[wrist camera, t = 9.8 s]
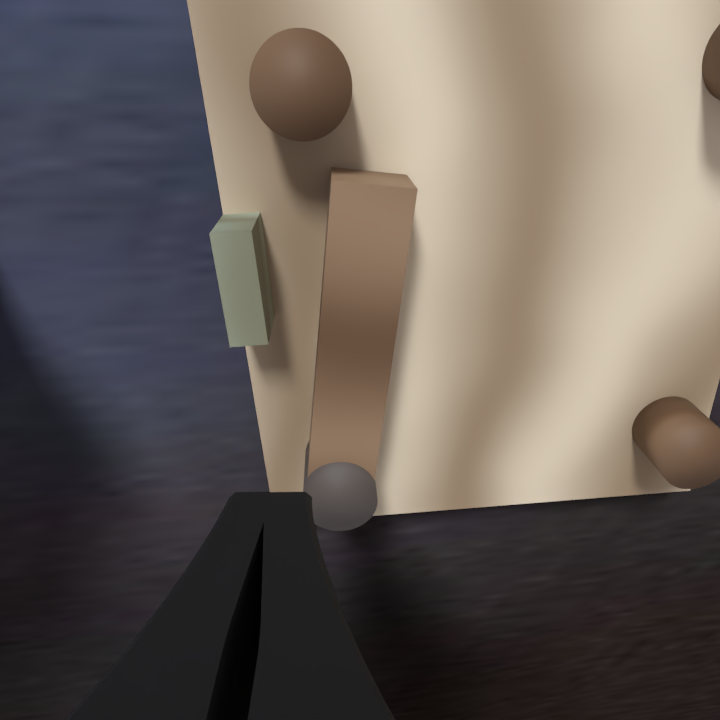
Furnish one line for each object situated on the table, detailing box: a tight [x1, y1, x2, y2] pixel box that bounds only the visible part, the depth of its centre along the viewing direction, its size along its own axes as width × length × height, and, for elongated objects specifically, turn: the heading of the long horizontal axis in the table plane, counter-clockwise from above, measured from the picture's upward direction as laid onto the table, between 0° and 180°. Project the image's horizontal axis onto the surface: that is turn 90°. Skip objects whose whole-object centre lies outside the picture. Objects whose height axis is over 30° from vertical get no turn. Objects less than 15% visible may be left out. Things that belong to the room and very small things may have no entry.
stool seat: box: [187, 0, 720, 516], centre depth 17 cm, size 15×16×4 cm
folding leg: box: [303, 167, 418, 531], centre depth 16 cm, size 10×2×2 cm, turn 174°
